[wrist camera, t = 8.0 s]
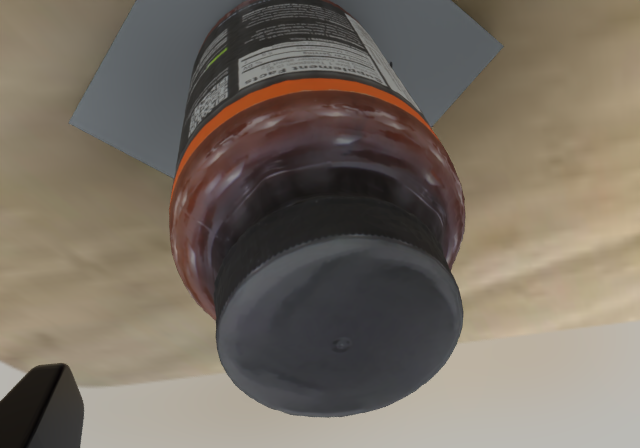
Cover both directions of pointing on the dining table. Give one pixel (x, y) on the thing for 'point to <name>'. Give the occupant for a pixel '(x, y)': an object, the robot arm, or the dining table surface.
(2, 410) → the robot arm
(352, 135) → the supplement bottle
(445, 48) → the mat
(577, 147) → the dining table surface
